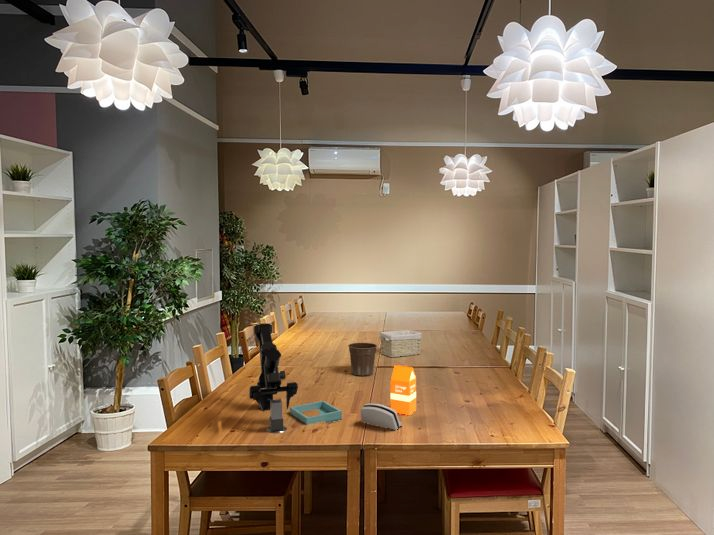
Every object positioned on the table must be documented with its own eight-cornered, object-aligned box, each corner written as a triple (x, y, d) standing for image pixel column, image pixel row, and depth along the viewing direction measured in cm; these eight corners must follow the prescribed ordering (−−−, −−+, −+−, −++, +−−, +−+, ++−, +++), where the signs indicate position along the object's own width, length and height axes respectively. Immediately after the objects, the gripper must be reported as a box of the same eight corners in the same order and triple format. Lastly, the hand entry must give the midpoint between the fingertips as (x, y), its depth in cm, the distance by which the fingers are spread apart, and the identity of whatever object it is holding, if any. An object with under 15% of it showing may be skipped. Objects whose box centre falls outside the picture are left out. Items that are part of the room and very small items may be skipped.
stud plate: (262, 431, 192) (262, 419, 191) (282, 427, 196) (281, 415, 196) (270, 438, 185) (270, 426, 185) (290, 434, 189) (290, 421, 189)
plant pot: (378, 370, 284) (378, 342, 283) (376, 378, 268) (376, 348, 267) (350, 369, 286) (349, 342, 285) (346, 377, 270) (346, 348, 269)
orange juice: (409, 416, 209) (409, 369, 208) (390, 412, 213) (390, 366, 212) (416, 410, 216) (416, 365, 215) (397, 407, 220) (397, 362, 219)
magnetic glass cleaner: (403, 426, 196) (398, 405, 193) (397, 434, 193) (393, 413, 190) (367, 418, 206) (363, 398, 202) (361, 425, 202) (357, 405, 199)
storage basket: (409, 350, 337) (409, 328, 336) (422, 355, 323) (423, 332, 322) (378, 354, 326) (378, 331, 326) (391, 359, 312) (391, 335, 311)
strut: (269, 427, 192) (269, 399, 191) (281, 426, 193) (281, 398, 193) (271, 432, 188) (270, 403, 187) (283, 430, 189) (283, 402, 188)
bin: (290, 416, 209) (289, 407, 208) (323, 409, 217) (323, 400, 217) (306, 428, 195) (306, 418, 195) (341, 420, 204) (341, 411, 203)
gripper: (249, 365, 193) (252, 402, 183) (296, 362, 198) (302, 397, 188) (247, 380, 201) (250, 416, 191) (293, 376, 206) (298, 411, 196)
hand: (275, 409), depth 191 cm, fingers open, 9 cm apart
